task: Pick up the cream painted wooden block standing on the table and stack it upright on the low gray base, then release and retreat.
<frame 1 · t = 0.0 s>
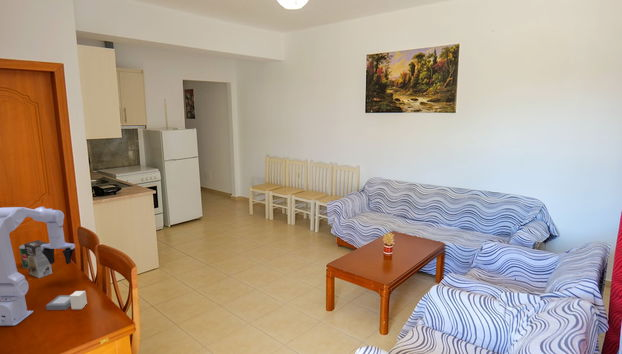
hand: (60, 263, 171), 10 cm above the table, fingers open, 7 cm apart
gray base: (62, 304, 155), on the table
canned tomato: (32, 265, 193), on the table
coffee box: (41, 274, 183), on the table
cream block: (79, 306, 153), on the table
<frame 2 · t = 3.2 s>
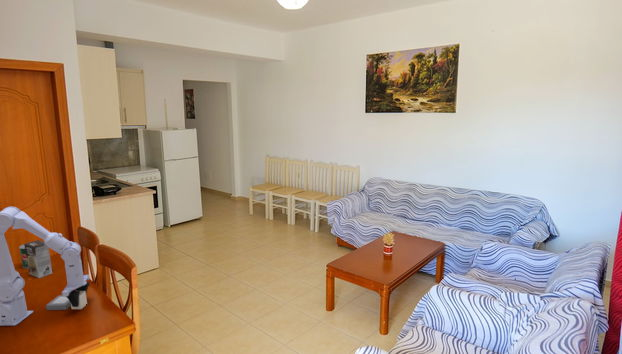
hand: (79, 303, 153), 1 cm above the table, fingers closed on cream block, 4 cm apart
cream block: (79, 306, 153), on the table, touching gripper
everything else where it was.
when the fingers open (4 cm above the table, at t = 6.3 s): cream block stays where it is, resting on gray base.
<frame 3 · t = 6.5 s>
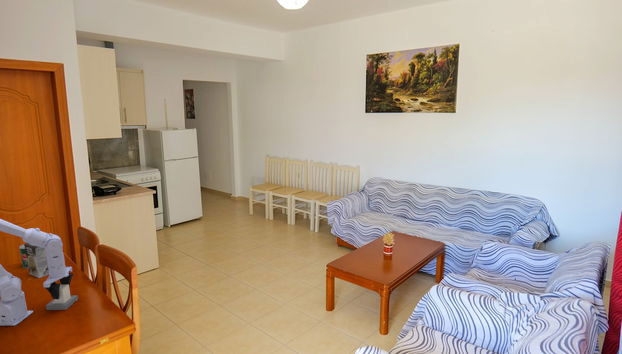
hand: (61, 294, 154), 4 cm above the table, fingers open, 6 cm apart
cream block: (62, 300, 154), point 2 cm above the table, touching gray base
everything else where it was.
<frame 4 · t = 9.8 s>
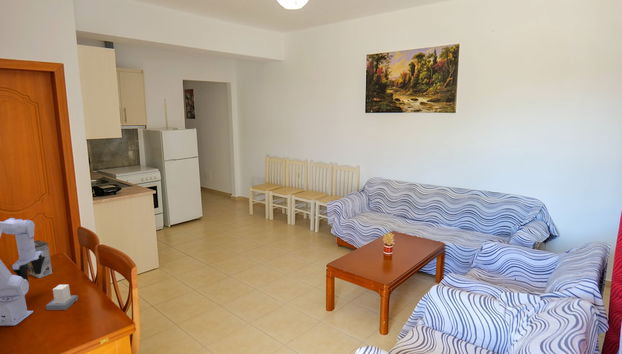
hand: (31, 277, 157), 10 cm above the table, fingers open, 7 cm apart
nothing on the table moved.
at the end: cream block 0.3 cm off-centre on the gray base, point 2.1 cm above the gray base's base; cream block tilted 0°; the gripper is holding nothing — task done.
